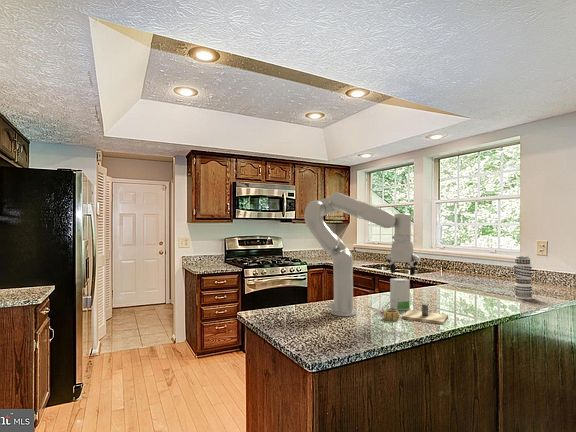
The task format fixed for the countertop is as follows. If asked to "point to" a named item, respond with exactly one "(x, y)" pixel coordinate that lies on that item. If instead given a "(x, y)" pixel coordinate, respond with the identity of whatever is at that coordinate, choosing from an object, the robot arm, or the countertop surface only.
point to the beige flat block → (425, 316)
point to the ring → (391, 315)
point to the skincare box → (400, 294)
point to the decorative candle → (523, 277)
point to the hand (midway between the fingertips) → (402, 274)
